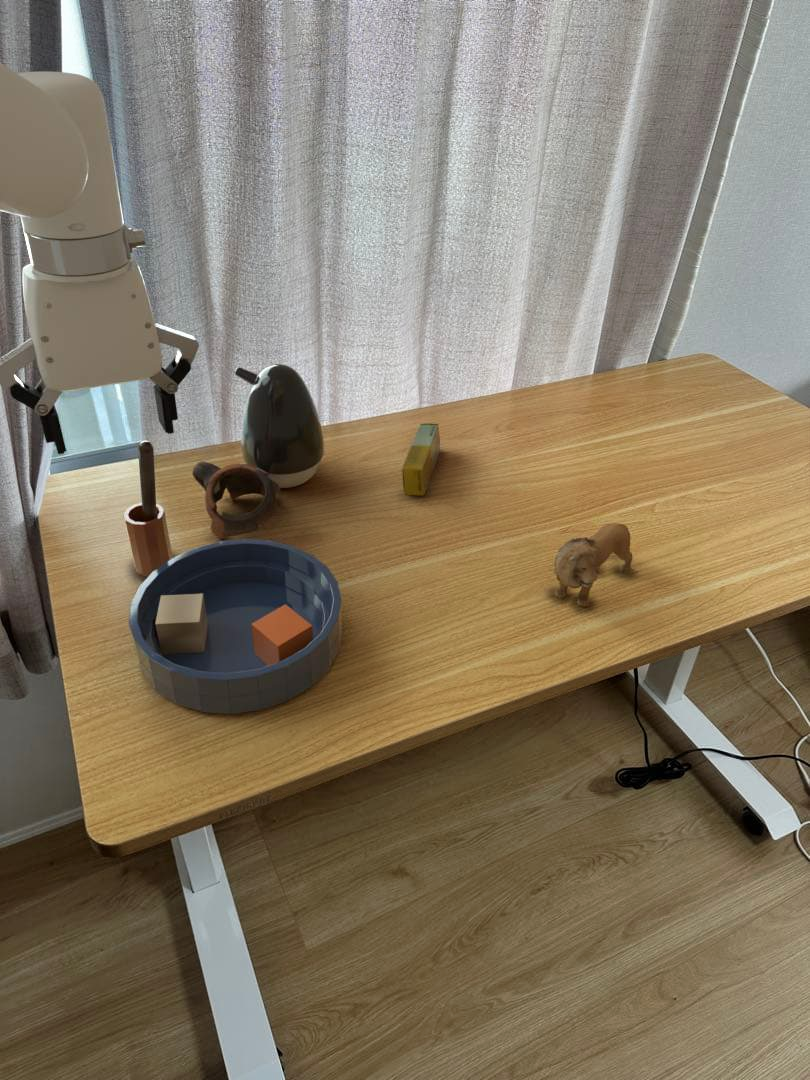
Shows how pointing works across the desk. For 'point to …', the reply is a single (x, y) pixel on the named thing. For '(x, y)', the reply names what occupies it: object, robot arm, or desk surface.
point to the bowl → (238, 624)
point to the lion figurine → (590, 559)
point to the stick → (147, 480)
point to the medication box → (421, 459)
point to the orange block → (280, 635)
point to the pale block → (182, 623)
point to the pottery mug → (237, 483)
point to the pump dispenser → (281, 426)
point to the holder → (147, 539)
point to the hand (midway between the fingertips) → (114, 436)
